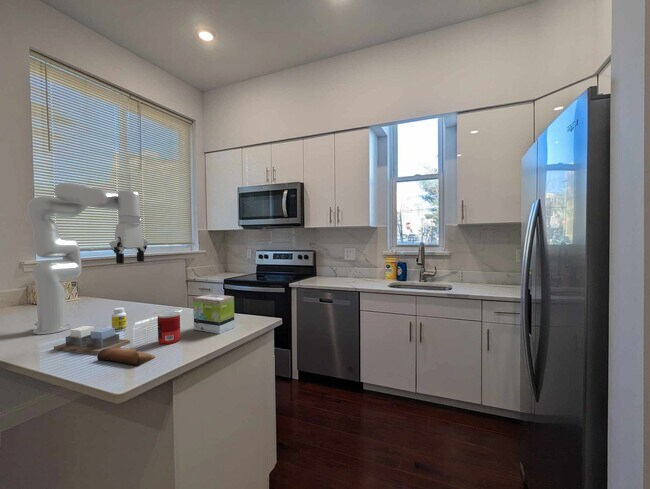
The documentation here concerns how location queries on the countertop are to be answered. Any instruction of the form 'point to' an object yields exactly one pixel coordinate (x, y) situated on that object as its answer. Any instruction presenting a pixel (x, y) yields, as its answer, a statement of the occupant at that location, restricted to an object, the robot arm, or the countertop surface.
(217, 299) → the tea box
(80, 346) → the key panel
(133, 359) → the sunglasses case
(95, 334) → the light blue block
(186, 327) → the countertop surface
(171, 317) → the canned food
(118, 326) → the supplement bottle
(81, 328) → the white key
